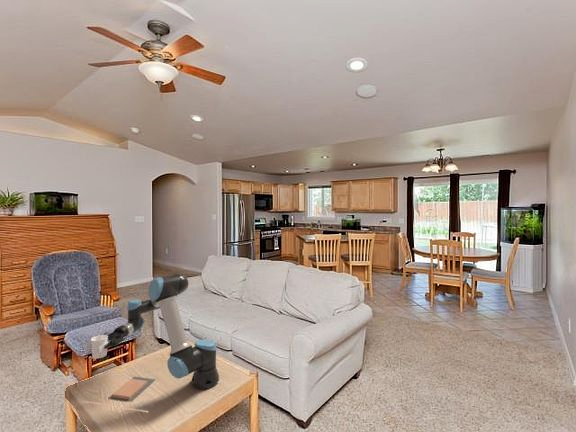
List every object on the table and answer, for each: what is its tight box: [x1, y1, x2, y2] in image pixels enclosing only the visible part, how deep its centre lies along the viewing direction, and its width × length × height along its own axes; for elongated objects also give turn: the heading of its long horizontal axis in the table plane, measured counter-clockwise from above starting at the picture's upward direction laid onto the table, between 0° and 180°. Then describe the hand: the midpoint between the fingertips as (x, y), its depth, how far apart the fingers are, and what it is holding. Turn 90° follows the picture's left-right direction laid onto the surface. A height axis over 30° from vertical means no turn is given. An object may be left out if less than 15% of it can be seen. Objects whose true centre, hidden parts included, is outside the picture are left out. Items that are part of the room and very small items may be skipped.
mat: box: [107, 376, 157, 403], centre depth 165 cm, size 14×20×1 cm
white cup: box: [90, 334, 109, 360], centre depth 165 cm, size 8×8×10 cm
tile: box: [112, 378, 147, 400], centre depth 163 cm, size 10×2×14 cm
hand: (92, 349), depth 160 cm, fingers closed on white cup, 8 cm apart
